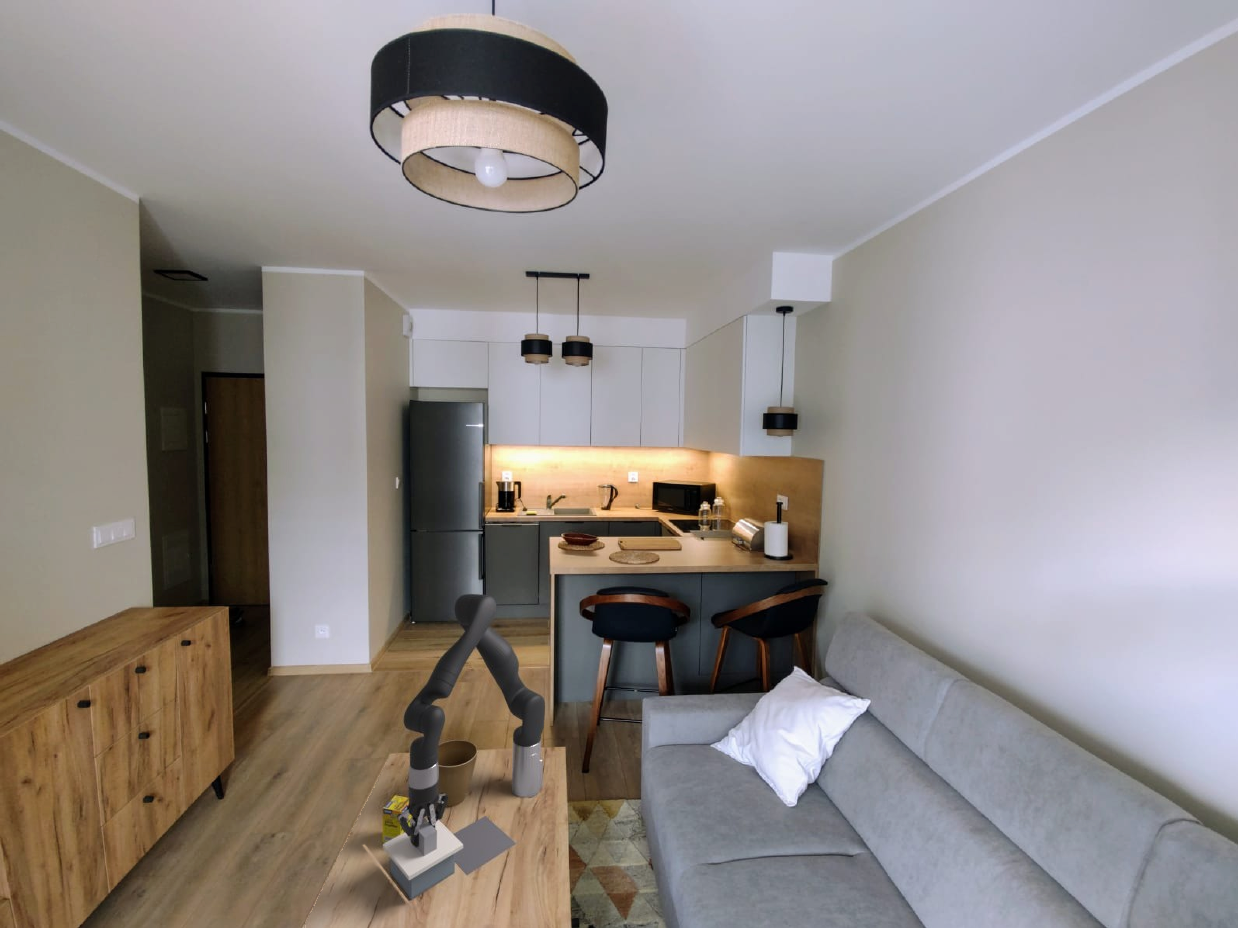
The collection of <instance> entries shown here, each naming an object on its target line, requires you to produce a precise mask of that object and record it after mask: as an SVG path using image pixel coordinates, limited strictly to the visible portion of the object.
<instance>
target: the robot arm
mask: <svg viewBox="0 0 1238 928" xmlns="http://www.w3.org/2000/svg"><path fill="white" fill-rule="evenodd" d="M496 614H497V603H496V601H495V598H494V597H493V596H491V595H490V594H489V595H488V594H479V593H478V594H476V593H467V594H462V595H460V596H459V597H457V599H456V601H455V603H454V616H455V618H456V620H457V622H458V624H459V625H460V627H461V628H462V629H463V630H464V632H463V634H462V635H461V636H460V637H459V638H458V640H457V641H456V642H454V643H453V645H451V647H450V648H448V649H447V650H446V651H445V652H444V654H443V655H442V656H441V657H440V658H439V660H438V661H437V662H436V665H435V666H434V669H433V670H432V673H431V675H430V676H429V678H428V681H427V682H426V684H425V685H424V686H423V687H422V688H421V690H420V691H419V692H418V694H417V695H416V696H415V697H414V698H413V700H411V702H410V703H409V704H408V706H407V707H406V710H405V712H404V715H403V726H404V728H406V729H407V730H409V731H412V732H416V733H418V734H419V733H420V734H422V735H423V736H419V737H416V738H415V739H414V740H413V741H412V742H411V744H410V746H409V748H410V749H409V769H408V787H407V788H408V790H407V792H408V797H407V798H408V799H409V804H408V807H407V810H406V811H405V812H404V813H403V814H398V815H397V819H398V821H399V823H400V825H401V827H402V829H403V831H404V832H405V833H406V834H407V836H411V843H412V845H413V846H415V847H416V848H417V847H418V846H419V833H418V832H419V827H420V825H421V823H422V819H423V818H427V819H426V820H427V821H429V823H430V824H431V825H432V826H433V827H434V828H435V824H436V822H437V821H438V820H439V821H440V820H442V818H443V816H444V813H445V811H446V804H447V801H448V796H447V795H446V794H445V793H444V792H442V793H441V794H438V791H439V766H438V745H439V744H440V742H441V741H440V740H441V736H442V732H443V729H444V726H445V722H446V714H445V711H444V710H443V708H442V707H440V706H438V705H434V704H433V703H434V702H436V700H441V699H443V700H444V699H447V698H449V697H450V695H451V694H452V692H453V690H454V688H455V686H456V683H457V681H458V679H459V677H460V675H461V673H462V671H463V668H464V667H465V665H466V663H467V661H468V660H469V658H470V656H471V654H472V653H473V652H474V650H475V649H476V650H477V651H478V653H479V655H480V656H481V658H482V660H483V662H484V664H485V665H486V667H487V669H488V671H489V673H490V674H491V675H492V677H493V679H494V681H495V682H496V684H497V685H498V688H499V689H500V691H501V693H502V695H503V697H504V700H505V703H506V706H507V707H508V710H509V712H510V713H511V714H512V715H513V716H514V717H515V718H517V719H519V720H521V721H522V723H521V725H518V727H516V728H515V729H514V731H513V734H512V768H511V769H512V770H511V773H512V774H511V792H512V793H513V795H515V796H517V797H519V798H527V799H529V798H530V799H531V798H533V797H535V796H536V795H537V794H538V793H540V790H541V789H542V788H543V773H544V771H543V770H544V769H543V767H544V759H542V755H541V754H542V734H543V732H544V728H545V719H546V717H545V715H546V701H545V698H544V697H543V695H541V694H539V693H538V692H536V691H533V690H532V689H530V688H528V687H527V686H526V685H525V684H524V682H523V680H522V679H521V678H520V675H519V671H520V670H519V667H520V663H519V659H518V656H517V654H516V653H515V650H514V649H513V647H512V645H511V644H510V642H509V641H508V640H507V639H506V638H505V637H503V635H501V634H500V633H498V632H497V631H496V630H494V629H493V628H492V627H491V626H490V625H492V622H493V621H494V619H495V617H496ZM409 814H410V815H412V816H411V826H410V827H409V825H408V823H407V822H408V816H409Z"/></svg>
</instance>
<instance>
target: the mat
mask: <svg viewBox="0 0 1238 928" xmlns="http://www.w3.org/2000/svg"><path fill="white" fill-rule="evenodd" d="M452 834H453V835H454V836H455V837H456V838H457V839H458V840H459V841H460V842H461V843H462V844H463V849H461V850H459V851H458V852H456V853H455V865H457V866H458V867H459V869H461V871H463V872H464V874H465V875H466V876H469V875H470V874H472V873H473V872H475V871H476V870H477V869H479V868H481V867H483V866H484V865H486V864H487V863H489V862H491V861H492V860H493V859H495V858H496V857H498V856H500V855H501V854H503V853H504V852H506V851H508V850H509V849H510V848H513V847H514V846H515V845H517V842H516V841H515V840H513V839H512V838H511V837H510V836H509V835H508V834H506V832H504V831H503V830H502V829H501V828H500V827H499V826H498V825H496V823H494V822H493V821H492V820H491V819H490V818H488V817H487V816H486V815H484V816H482V817H481V818H479V819H477V820H475V821H473V822H472V823H469V824H468V825H466V826H465V827H464V828H461V829H460V830H457V831H456V832H454V833H452Z"/></svg>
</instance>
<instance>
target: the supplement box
mask: <svg viewBox="0 0 1238 928" xmlns="http://www.w3.org/2000/svg"><path fill="white" fill-rule="evenodd" d="M408 804H409V799H408V797H405V796H401V795H400V796H399V795H396V794H395V795H394V796H393V797H392V798H391V800H390V801H389V802H387V803H386V805H384V806H383V807H382V831H381V832H382V837H381V838H382V840H381V841H382V844H384V843H386V842H388V841H390V840H392V839H393V838H395V837H397V836H399V835H401V834H403V833H405V832H404V831H403V829H402V827H401V825H400V823H399V821H398V819H397V815H398V814H403V813H404V812H405V811H406V810H407V807H408ZM411 816H412V815H410V814H409V816H408V822H407V823H408V825H409V827H410V822H411Z"/></svg>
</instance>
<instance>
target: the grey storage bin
mask: <svg viewBox="0 0 1238 928" xmlns="http://www.w3.org/2000/svg"><path fill="white" fill-rule="evenodd" d="M389 858H390V857H389ZM389 860H390V861H389V862H390V864H389V865H390V866H389V873H390V874H391V877H393V879H394V880H395V881H396V882H397V884H398V885H399V886H400V888H402V890H403V891H404V893H405V894H406V896H408V898H409V899H410V900H414V899H416V898H417V897H419V896H420V895H422V894H423V893H425V892H427V891H428V890H430V889H432V888H433V887H435V886H436V885H438V884H440V883H441V882H442V881H445V879H447V878H449V877H451V876H452V875H454V874H455V870H456V867H455V866H456V863H455V853H454V854H453V855H451V856H449V857H448V858H446V859H444V860H442V861H441V862H439V863H437V864H436V865H434V866H432V867H431V868H429V869H427V870H426V871H424V872H422V873H421V874H419V875H417V876H416V877H414V878H412V879H411V880H408V879H407V877H406V876H405V875H404V874H403V872H402V871H401V870H400V869H399V867H398V866H397V865H396V864H395V862H394V861H393V860H392V859H391V858H390V859H389Z"/></svg>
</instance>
